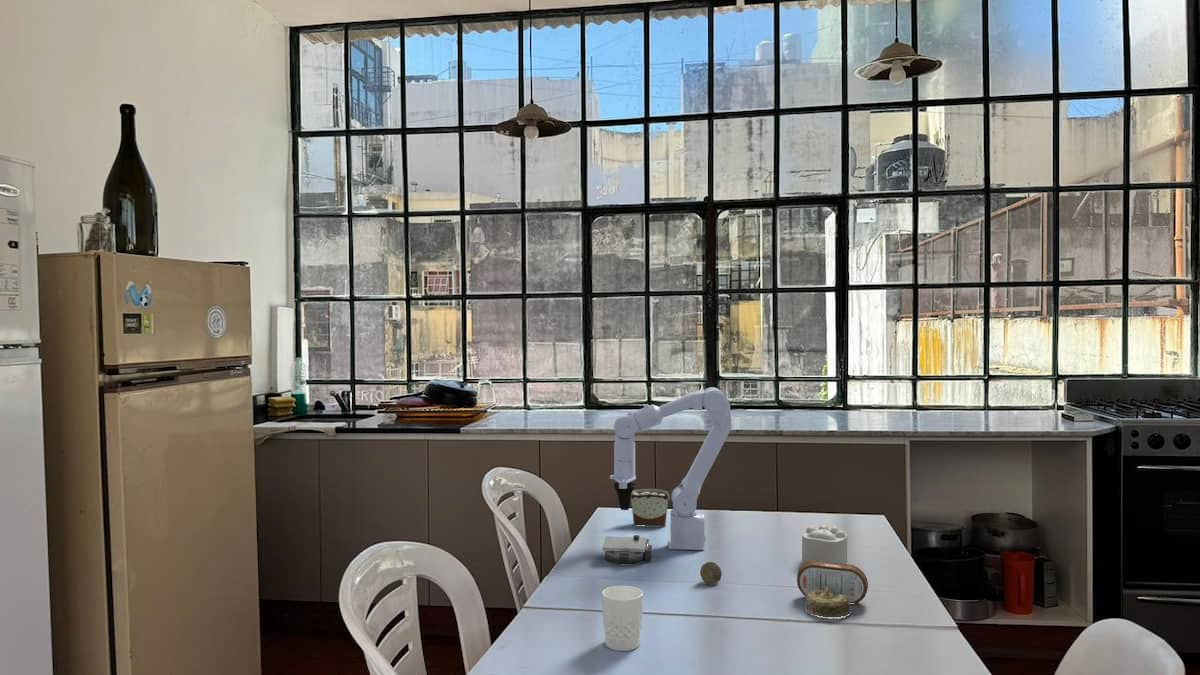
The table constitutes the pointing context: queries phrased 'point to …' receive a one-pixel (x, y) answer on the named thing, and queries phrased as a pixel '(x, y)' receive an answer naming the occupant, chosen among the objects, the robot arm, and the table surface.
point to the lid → (626, 544)
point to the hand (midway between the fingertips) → (624, 509)
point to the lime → (710, 573)
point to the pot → (628, 556)
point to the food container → (649, 507)
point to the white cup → (622, 617)
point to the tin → (833, 579)
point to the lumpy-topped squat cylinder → (824, 545)
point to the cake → (827, 604)
